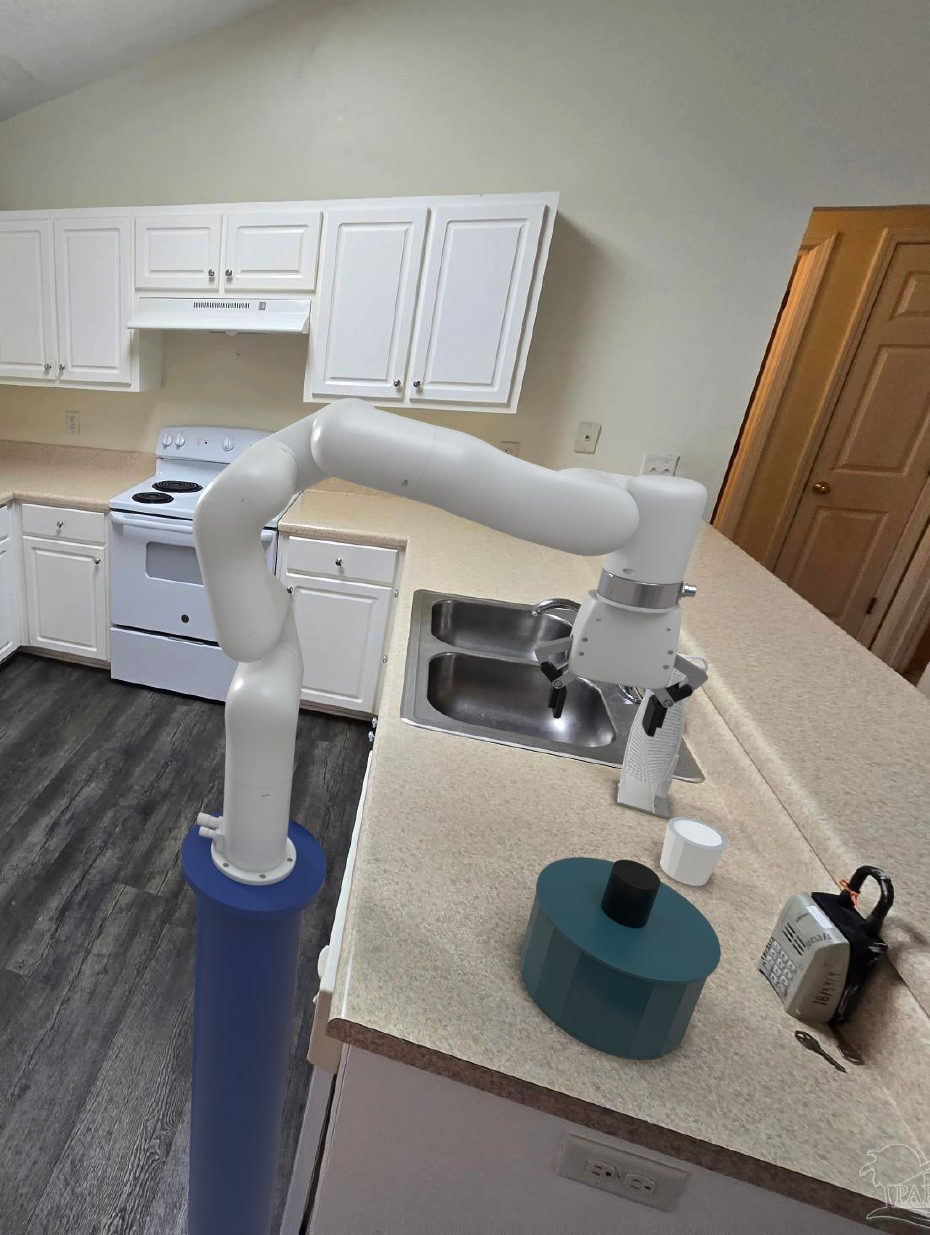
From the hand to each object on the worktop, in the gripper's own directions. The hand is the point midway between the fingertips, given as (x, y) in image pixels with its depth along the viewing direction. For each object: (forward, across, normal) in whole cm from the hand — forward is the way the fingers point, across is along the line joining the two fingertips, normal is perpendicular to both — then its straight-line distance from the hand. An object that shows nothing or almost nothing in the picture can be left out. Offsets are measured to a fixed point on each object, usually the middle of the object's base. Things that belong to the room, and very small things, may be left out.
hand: (600, 721), depth 83 cm
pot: (+28, -4, +13) cm, 31 cm away
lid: (+17, -4, +13) cm, 22 cm away
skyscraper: (+28, -15, -30) cm, 44 cm away
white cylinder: (+28, -18, -14) cm, 36 cm away
